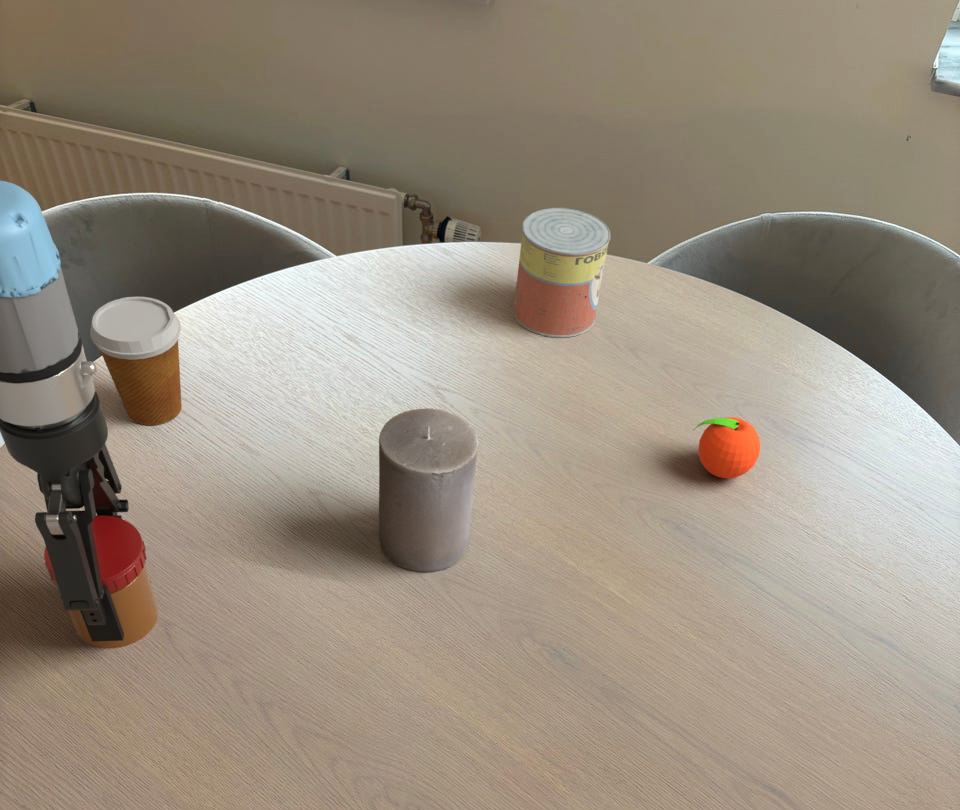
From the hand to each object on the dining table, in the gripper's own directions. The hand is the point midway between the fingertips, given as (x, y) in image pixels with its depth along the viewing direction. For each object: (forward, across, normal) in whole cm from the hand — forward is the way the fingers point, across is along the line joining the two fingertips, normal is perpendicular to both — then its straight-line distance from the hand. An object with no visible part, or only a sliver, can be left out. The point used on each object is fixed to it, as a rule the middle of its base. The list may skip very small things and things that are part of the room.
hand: (114, 601), depth 91 cm
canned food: (+5, +54, -50) cm, 74 cm away
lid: (-7, 0, 0) cm, 7 cm away
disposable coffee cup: (+4, +34, +1) cm, 34 cm away
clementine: (+5, +22, -65) cm, 68 cm away
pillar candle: (+5, +11, -30) cm, 32 cm away
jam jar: (+4, 0, 0) cm, 4 cm away
